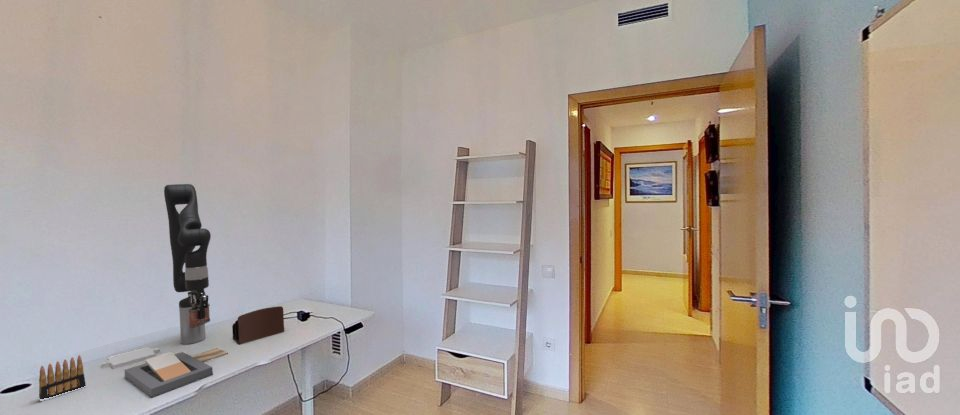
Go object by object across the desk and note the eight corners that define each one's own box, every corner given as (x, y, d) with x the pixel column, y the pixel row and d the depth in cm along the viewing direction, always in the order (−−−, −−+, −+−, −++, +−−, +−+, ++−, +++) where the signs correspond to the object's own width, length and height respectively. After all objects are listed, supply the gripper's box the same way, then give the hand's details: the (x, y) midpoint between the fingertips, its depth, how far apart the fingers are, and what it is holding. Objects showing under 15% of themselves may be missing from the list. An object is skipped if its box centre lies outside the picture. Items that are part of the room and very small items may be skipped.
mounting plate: (155, 348, 166) (155, 344, 165) (163, 355, 158) (163, 351, 158) (99, 364, 151) (98, 359, 151) (104, 372, 143) (104, 367, 143)
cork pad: (190, 357, 154) (190, 356, 154) (217, 349, 162) (217, 347, 162) (200, 363, 149) (200, 361, 149) (227, 353, 157) (227, 352, 157)
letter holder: (284, 332, 182) (283, 304, 181) (239, 345, 167) (237, 315, 166) (277, 327, 188) (275, 301, 188) (232, 339, 173) (231, 311, 173)
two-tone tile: (145, 362, 140) (145, 359, 140) (171, 354, 147) (171, 351, 146) (165, 384, 130) (165, 382, 129) (192, 374, 136) (192, 372, 136)
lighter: (193, 328, 147) (192, 305, 145) (187, 327, 147) (185, 304, 146) (212, 320, 154) (211, 298, 153) (206, 319, 155) (205, 297, 154)
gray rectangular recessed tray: (124, 377, 138) (124, 369, 138) (182, 358, 153) (182, 351, 153) (151, 397, 123) (151, 389, 123) (212, 374, 138) (212, 367, 138)
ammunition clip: (83, 385, 132) (81, 353, 132) (85, 387, 132) (83, 354, 131) (39, 401, 123) (36, 366, 123) (40, 402, 122) (38, 367, 122)
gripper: (178, 276, 150) (181, 317, 151) (193, 281, 142) (195, 323, 143) (200, 273, 156) (202, 311, 157) (215, 277, 148) (217, 318, 149)
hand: (199, 317), depth 150 cm, fingers closed on lighter, 4 cm apart
